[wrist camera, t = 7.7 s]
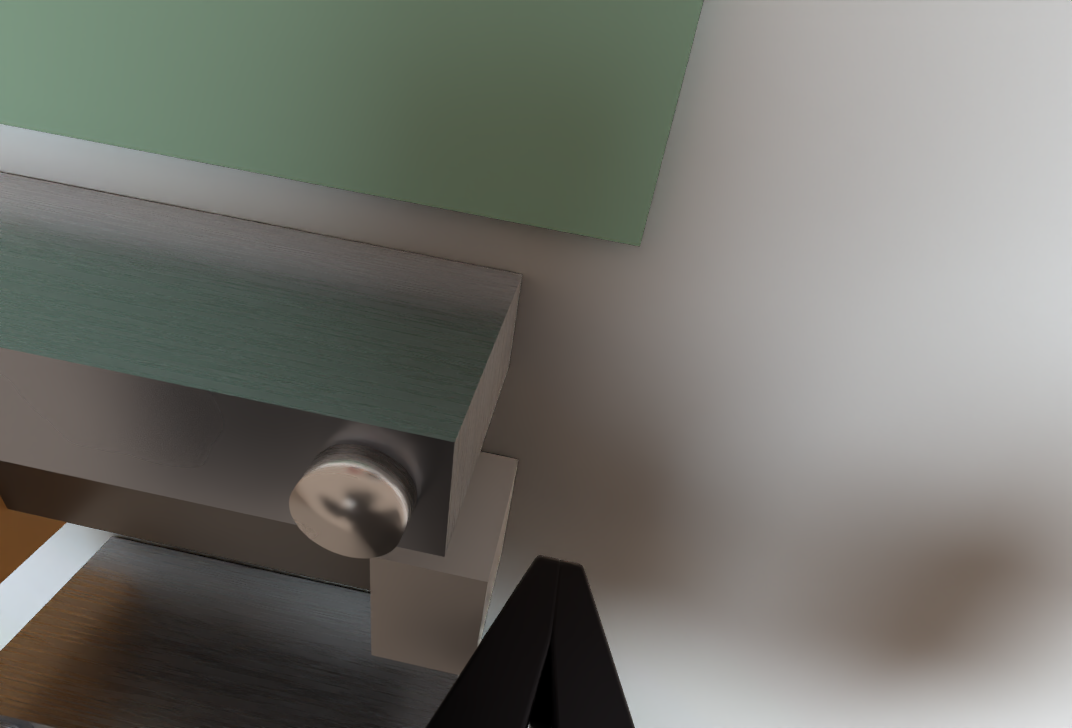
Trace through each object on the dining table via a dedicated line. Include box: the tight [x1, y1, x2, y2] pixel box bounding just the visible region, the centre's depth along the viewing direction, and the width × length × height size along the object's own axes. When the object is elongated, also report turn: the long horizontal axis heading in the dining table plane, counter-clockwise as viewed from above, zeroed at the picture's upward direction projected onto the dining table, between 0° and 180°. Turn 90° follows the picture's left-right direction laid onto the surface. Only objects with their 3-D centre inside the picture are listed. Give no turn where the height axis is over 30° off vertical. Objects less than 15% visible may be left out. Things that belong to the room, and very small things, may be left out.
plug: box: [0, 451, 519, 675], centre depth 9 cm, size 12×4×4 cm, turn 82°
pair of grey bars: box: [0, 172, 522, 728], centre depth 9 cm, size 9×8×4 cm
